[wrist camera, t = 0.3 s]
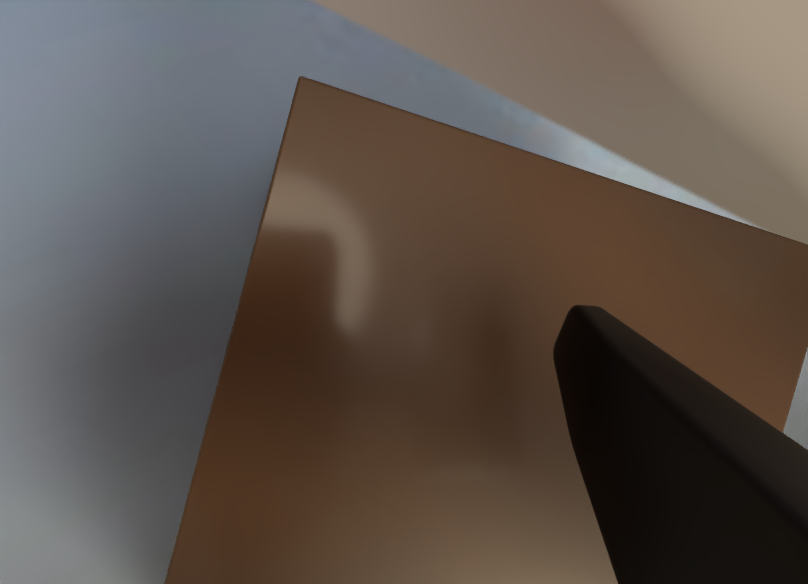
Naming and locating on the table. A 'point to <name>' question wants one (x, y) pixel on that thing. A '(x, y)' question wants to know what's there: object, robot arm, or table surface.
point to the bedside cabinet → (451, 353)
